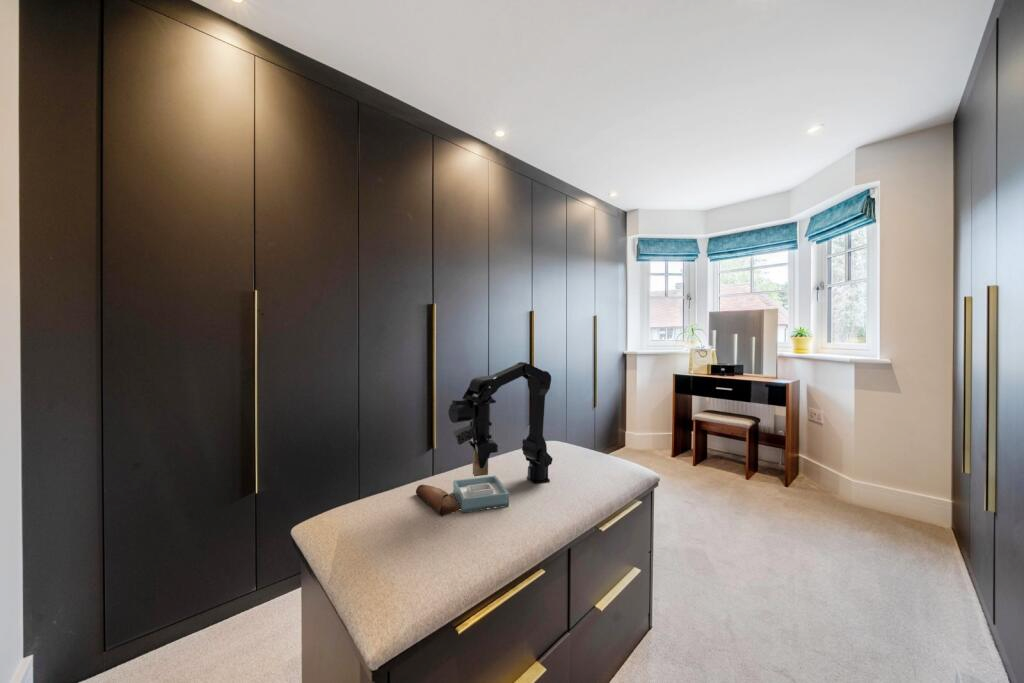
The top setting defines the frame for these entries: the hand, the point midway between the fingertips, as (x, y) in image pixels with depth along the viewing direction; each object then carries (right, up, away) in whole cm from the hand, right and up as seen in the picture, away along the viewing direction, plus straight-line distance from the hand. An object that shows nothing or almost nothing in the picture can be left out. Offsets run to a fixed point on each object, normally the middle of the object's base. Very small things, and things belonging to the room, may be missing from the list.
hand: (480, 466), depth 120 cm
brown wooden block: (0, -2, 0) cm, 2 cm away
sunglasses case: (-13, -11, -2) cm, 17 cm away
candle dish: (0, -11, 0) cm, 11 cm away
